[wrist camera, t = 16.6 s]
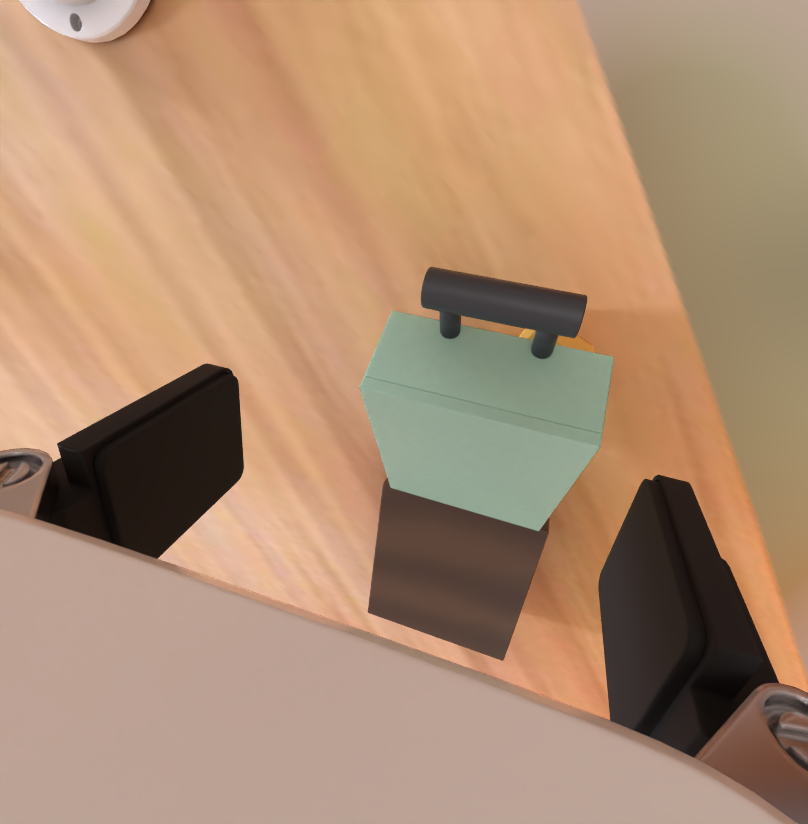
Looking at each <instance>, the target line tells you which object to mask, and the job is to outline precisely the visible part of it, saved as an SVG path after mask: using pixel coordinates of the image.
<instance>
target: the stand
mask: <svg viewBox="0 0 808 824" xmlns="http://www.w3.org/2000/svg"><path fill="white" fill-rule="evenodd" d="M548 533H549V518H548V519H547V521H546V522H545V523H544V525H543V526H542V528H541V529H540V530H539V531H536V530H533V529H529V528H526V527H523V526H519V525H516V524H512V523H509V522H506V521H502V520H499V519H495V518H492V517H489V516H485V515H482V514H478V513H475V512H472V511H468V510H465V509H461V508H458V507H455V506H451V505H448V504H444V503H441V502H438V501H434V500H431V499H427V498H424V497H420V496H417V495H414V494H410V493H407V492H403V491H400V490H397V489H393V488H391V487H390V484H389V481H388V478H387V479H386V480H385V482H384V484H383V490H382V498H381V507H380V515H379V523H378V532H377V540H376V548H375V557H374V565H373V573H372V582H371V590H370V598H369V607H368V613H370V614H373V615H376V616H379V617H382V618H384V619H387V620H390V621H393V622H396V623H398V624H401V625H404V626H407V627H410V628H412V629H415V630H418V631H421V632H424V633H426V634H429V635H432V636H435V637H438V638H440V639H443V640H446V641H449V642H452V643H454V644H457V645H460V646H463V647H466V648H468V649H471V650H474V651H477V652H480V653H482V654H485V655H488V656H491V657H494V658H496V659H499V660H502V661H503V660H504V657H505V655H506V652H507V649H508V646H509V643H510V640H511V638H512V635H513V632H514V629H515V626H516V623H517V621H518V618H519V615H520V612H521V609H522V606H523V604H524V601H525V598H526V595H527V592H528V590H529V587H530V584H531V581H532V578H533V575H534V573H535V570H536V567H537V564H538V561H539V558H540V556H541V553H542V550H543V547H544V544H545V541H546V539H547V536H548Z"/></svg>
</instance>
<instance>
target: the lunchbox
mask: <svg viewBox="0 0 808 824" xmlns="http://www.w3.org/2000/svg"><path fill="white" fill-rule="evenodd" d="M586 304H587V296H586V295H581V294H576V293H570V292H565V291H560V290H554V289H549V288H543V287H538V286H533V285H527V284H522V283H516V282H511V281H505V280H500V279H495V278H489V277H484V276H478V275H473V274H468V273H462V272H457V271H451V270H446V269H440V268H435V267H430V268H429V269H428V270H427V272H426V275H425V278H424V281H423V286H422V292H421V305H422V307H423V308H427V309H432V310H437V311H440V320H435V319H431V318H426V317H421V316H416V315H412V314H407V313H402V312H397V311H392V312H391V314H390V317H389V319H388V321H387V324H386V326H385V328H384V331H383V333H382V335H381V338H380V340H379V343H378V345H377V347H376V350H375V352H374V354H373V357H372V359H371V361H370V364H369V366H368V368H367V371H366V373H365V377H364V378H363V380H362V382H361V385H360V391H361V394H362V397H363V401H364V404H365V407H366V410H367V413H368V417H369V420H370V423H371V426H372V429H373V433H374V436H375V439H376V442H377V445H378V449H379V452H380V455H381V458H382V461H383V465H384V468H385V471H386V474H387V478H388V481H389V484H390V487H391V488H393V489H397V490H400V491H403V492H407V493H410V494H414V495H417V496H420V497H424V498H427V499H431V500H434V501H438V502H441V503H444V504H448V505H451V506H455V507H458V508H461V509H465V510H468V511H472V512H475V513H478V514H482V515H485V516H489V517H492V518H495V519H499V520H502V521H506V522H509V523H512V524H516V525H519V526H523V527H526V528H529V529H533V530H536V531H539V530H540V529H541V528H542V526H543V525H544V523H545V522H546V521H547V519H548V518H549V517H550V515H551V514H552V513H553V511H554V510H555V508H556V507H557V506H558V504H559V503H560V502H561V500H562V499H563V497H564V496H565V495H566V493H567V492H568V491H569V489H570V488H571V487H572V485H573V484H574V482H575V481H576V480H577V478H578V477H579V476H580V474H581V473H582V471H583V470H584V469H585V467H586V466H587V465H588V463H589V462H590V461H591V459H592V458H593V456H594V455H595V454H596V452H597V451H598V450H599V448H600V446H601V439H602V433H603V426H604V420H605V413H606V406H607V400H608V393H609V387H610V380H611V374H612V367H613V360H614V357H613V356H608V355H603V354H598V353H593V352H589V351H584V350H579V349H574V348H569V347H565V346H560V345H555V344H556V342H557V339H558V336H564V337H569V338H576V336H577V334H578V332H579V329H580V326H581V323H582V320H583V316H584V312H585V308H586ZM461 315H462V316H466V317H471V318H476V319H481V320H486V321H491V322H496V323H501V324H506V325H510V326H515V327H520V328H525V329H530V330H535V331H536V332H535V336H534V339H533V340H531V339H526V338H522V337H517V336H512V335H507V334H502V333H498V332H493V331H488V330H483V329H479V328H474V327H469V326H464V325H461Z"/></svg>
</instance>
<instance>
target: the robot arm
mask: <svg viewBox="0 0 808 824" xmlns="http://www.w3.org/2000/svg"><path fill="white" fill-rule="evenodd" d="M19 1H20V2H21V3H22V4H23V5H24V7H25V8H26V9H27V10H28V11H29V12H30V13H31V14H32V15H33V16H35V17H36V18H37V19H38V20H39V21H40V22H42V23H43V24H44V25H45V26H47V27H49V28H51V29H52V30H54V31H56V32H58V33H59V34H62V35H65V36H68V37H71V38H74V39H77V40H81V41H87V42H93V43H99V42H106V41H111V40H113V39H116V38H118V37H120V36H122V35H124V34H125V33H126V32H128V31H129V30H130V29H131V28H132V27H133V26H134V25H135V24H136V23H137V22H138V21H139V19H140V18H141V16H142V15H143V13H144V12H145V10H146V9H147V7H148V5H149V3H150V0H19ZM57 445H58V448H59V452H60V455H61V458H60V459H58V460H56V461H55V462H53V461H52V458H51V457H50V456H49V454H48V453H46V452H44V451H41V450H38V449H30V448H20V449H10V450H4V451H0V824H808V693H807V692H804V691H802V690H800V689H798V688H796V687H792V686H788V685H784V684H780V683H779V681H778V679H777V677H776V674H775V672H774V670H773V667H772V665H771V663H770V660H769V658H768V656H767V653H766V651H765V649H764V646H763V644H762V642H761V639H760V637H759V635H758V632H757V630H756V627H755V625H754V623H753V620H752V618H751V616H750V613H749V611H748V609H747V606H746V604H745V602H744V599H743V597H742V595H741V592H740V590H739V588H738V585H737V583H736V581H735V578H734V576H733V574H732V571H731V569H730V567H729V565H728V564H727V562H726V561H725V560H723V559H722V558H721V557H720V554H719V552H718V549H717V547H716V545H715V542H714V540H713V537H712V535H711V532H710V530H709V528H708V525H707V523H706V520H705V518H704V516H703V513H702V511H701V508H700V506H699V504H698V501H697V499H696V496H695V494H694V492H693V489H692V487H691V485H690V483H689V482H685V481H681V480H677V479H673V478H669V477H665V476H661V475H657V476H655V477H654V478H653V480H648V479H645V480H643V482H642V483H641V485H640V487H639V489H638V492H637V494H636V496H635V498H634V500H633V503H632V505H631V507H630V509H629V511H628V514H627V516H626V518H625V520H624V522H623V525H622V527H621V529H620V531H619V534H618V536H617V538H616V540H615V542H614V545H613V547H612V549H611V551H610V553H609V556H608V558H607V560H606V562H605V564H604V567H603V569H602V571H601V574H600V578H599V600H600V611H601V622H602V633H603V644H604V654H605V665H606V676H607V687H608V698H609V709H610V720H611V721H610V720H607V719H605V718H602V717H600V716H597V715H594V714H592V713H589V712H586V711H584V710H581V709H578V708H576V707H573V706H570V705H568V704H565V703H562V702H560V701H557V700H554V699H552V698H549V697H546V696H544V695H541V694H538V693H536V692H533V691H530V690H527V689H525V688H522V687H519V686H517V685H514V684H511V683H509V682H506V681H503V680H501V679H498V678H495V677H492V676H489V675H486V674H484V673H481V672H478V671H475V670H472V669H470V668H467V667H464V666H461V665H458V664H456V663H453V662H450V661H447V660H444V659H442V658H439V657H436V656H433V655H430V654H427V653H425V652H422V651H419V650H416V649H413V648H411V647H408V646H405V645H402V644H399V643H397V642H394V641H391V640H388V639H385V638H383V637H380V636H377V635H374V634H371V633H369V632H366V631H363V630H360V629H357V628H354V627H351V626H349V625H346V624H343V623H340V622H337V621H334V620H332V619H329V618H326V617H323V616H320V615H317V614H314V613H312V612H309V611H306V610H303V609H300V608H297V607H294V606H292V605H289V604H286V603H283V602H280V601H277V600H274V599H272V598H269V597H266V596H263V595H260V594H257V593H254V592H252V591H249V590H246V589H243V588H240V587H237V586H234V585H231V584H229V583H226V582H223V581H220V580H217V579H214V578H211V577H208V576H205V575H203V574H200V573H197V572H194V571H191V570H188V569H185V568H182V567H179V566H176V565H173V564H170V563H168V562H165V561H162V560H159V559H158V558H159V557H160V556H161V555H162V554H163V553H164V552H165V551H166V550H167V549H168V548H169V547H170V546H171V545H172V544H173V543H174V542H175V541H176V540H177V539H178V538H179V537H180V536H181V535H183V534H184V533H185V532H186V531H187V530H188V529H189V528H190V527H191V526H192V525H193V524H194V523H195V522H196V521H197V520H198V519H199V518H200V517H201V516H202V515H203V514H204V513H205V512H206V511H207V510H209V509H210V508H211V507H212V506H213V505H214V504H215V503H216V502H217V501H218V500H219V499H220V498H221V497H222V496H223V495H224V494H225V493H226V492H227V491H228V490H229V489H230V488H231V487H232V486H233V485H234V484H236V483H237V482H238V480H239V479H240V478H241V476H242V473H243V469H244V462H243V447H242V431H241V416H240V400H239V384H238V380H237V378H236V377H235V376H233V373H232V371H231V370H230V369H228V368H224V367H220V366H216V365H212V364H203V365H201V366H200V367H198V368H196V369H194V370H192V371H190V372H188V373H187V374H185V375H183V376H181V377H179V378H177V379H176V380H174V381H172V382H170V383H168V384H166V385H164V386H163V387H161V388H159V389H157V390H155V391H153V392H152V393H150V394H148V395H146V396H144V397H142V398H140V399H139V400H137V401H135V402H133V403H131V404H129V405H128V406H126V407H124V408H122V409H120V410H118V411H116V412H115V413H113V414H111V415H109V416H107V417H105V418H104V419H102V420H100V421H98V422H96V423H94V424H92V425H91V426H89V427H87V428H85V429H83V430H81V431H80V432H78V433H76V434H74V435H72V436H70V437H68V438H67V439H65V440H63V441H61V442H59V443H57Z"/></svg>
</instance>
